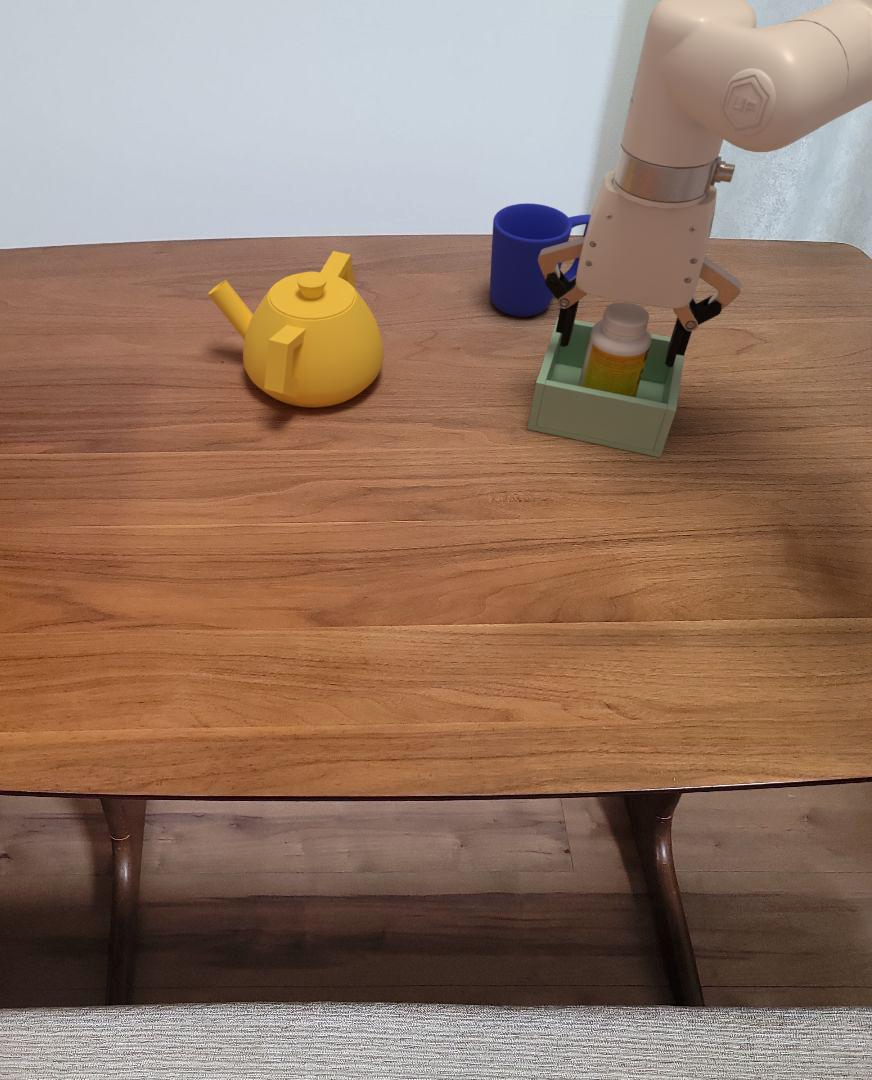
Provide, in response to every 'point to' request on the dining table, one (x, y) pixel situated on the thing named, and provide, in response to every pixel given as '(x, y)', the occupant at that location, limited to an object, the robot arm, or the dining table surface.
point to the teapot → (308, 336)
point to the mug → (526, 255)
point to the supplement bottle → (617, 350)
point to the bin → (605, 398)
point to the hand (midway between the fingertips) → (617, 348)
